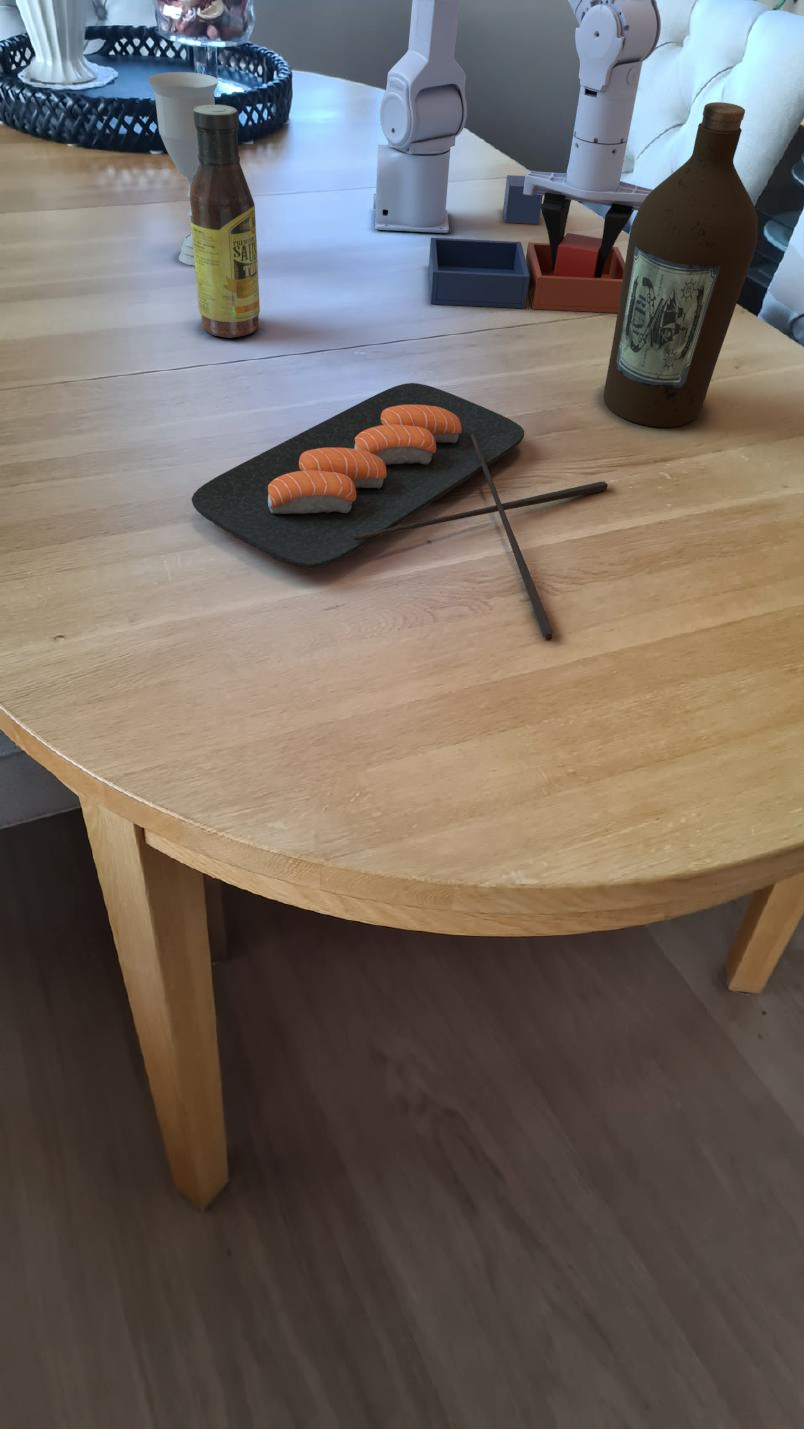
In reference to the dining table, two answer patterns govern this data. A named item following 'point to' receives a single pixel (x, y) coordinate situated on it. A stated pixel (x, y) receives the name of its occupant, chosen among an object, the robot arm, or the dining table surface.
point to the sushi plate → (369, 479)
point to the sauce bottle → (223, 228)
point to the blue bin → (478, 273)
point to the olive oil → (682, 280)
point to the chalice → (182, 125)
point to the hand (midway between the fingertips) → (577, 271)
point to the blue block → (520, 202)
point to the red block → (577, 256)
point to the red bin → (573, 284)
